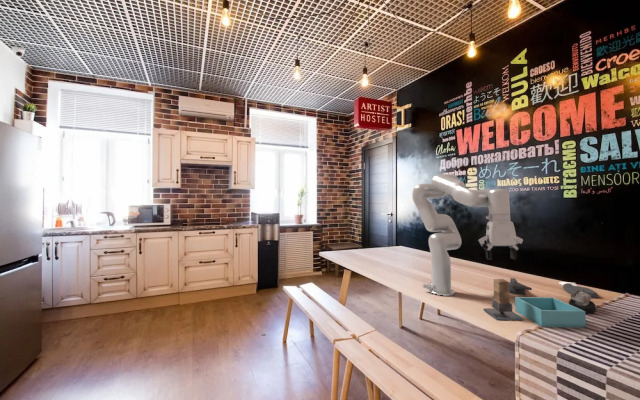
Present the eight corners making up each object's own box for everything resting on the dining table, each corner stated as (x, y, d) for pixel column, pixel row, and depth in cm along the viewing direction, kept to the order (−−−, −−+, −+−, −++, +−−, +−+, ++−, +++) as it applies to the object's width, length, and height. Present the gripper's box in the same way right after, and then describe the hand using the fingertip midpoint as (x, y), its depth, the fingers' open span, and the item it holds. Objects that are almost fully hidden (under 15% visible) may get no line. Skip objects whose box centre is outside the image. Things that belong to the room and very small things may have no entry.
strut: (499, 311, 113) (498, 282, 113) (492, 306, 118) (491, 278, 118) (512, 311, 112) (511, 282, 113) (504, 307, 118) (503, 278, 118)
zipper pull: (510, 286, 134) (502, 274, 156) (511, 300, 133) (503, 286, 156) (533, 288, 130) (521, 275, 152) (534, 302, 130) (522, 288, 152)
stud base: (496, 320, 111) (496, 306, 111) (483, 310, 120) (483, 297, 121) (522, 320, 110) (522, 306, 110) (507, 310, 120) (507, 298, 120)
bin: (541, 326, 104) (541, 310, 104) (515, 311, 119) (515, 297, 119) (585, 327, 103) (585, 311, 103) (553, 311, 118) (553, 297, 118)
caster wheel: (583, 320, 115) (561, 308, 125) (608, 313, 115) (584, 302, 125) (582, 305, 114) (559, 294, 124) (607, 299, 114) (583, 288, 124)
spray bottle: (572, 297, 137) (553, 284, 159) (601, 299, 132) (578, 286, 155) (572, 291, 137) (553, 279, 159) (601, 293, 132) (577, 281, 155)
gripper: (482, 219, 113) (484, 261, 112) (527, 218, 112) (529, 260, 111) (473, 218, 120) (475, 258, 120) (515, 217, 119) (517, 257, 118)
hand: (501, 259), depth 115 cm, fingers open, 9 cm apart
